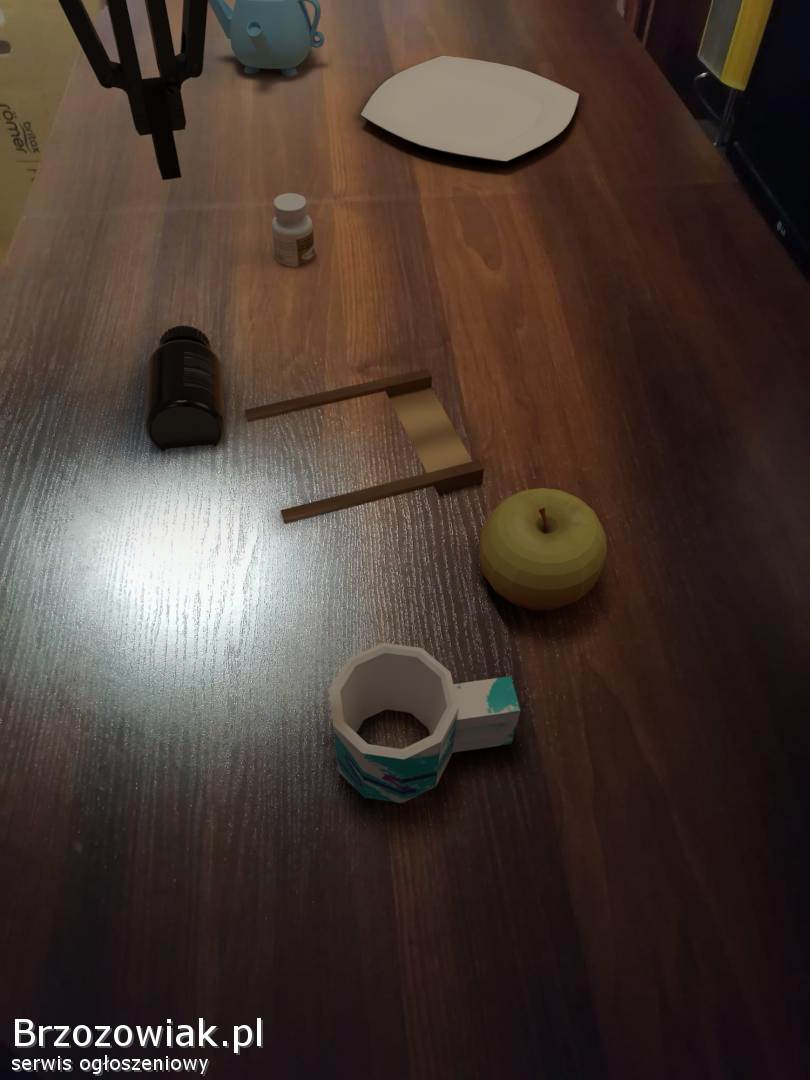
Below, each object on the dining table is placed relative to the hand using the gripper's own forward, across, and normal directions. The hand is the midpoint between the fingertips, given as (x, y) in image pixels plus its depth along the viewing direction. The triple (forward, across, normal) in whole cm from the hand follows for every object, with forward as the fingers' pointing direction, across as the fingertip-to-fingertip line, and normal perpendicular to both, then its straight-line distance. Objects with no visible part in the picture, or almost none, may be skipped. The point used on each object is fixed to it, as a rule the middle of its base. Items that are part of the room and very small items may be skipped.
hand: (169, 170), depth 69 cm
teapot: (+21, +22, +66) cm, 73 cm away
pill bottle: (+21, +13, +15) cm, 29 cm away
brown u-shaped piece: (+21, +11, -15) cm, 28 cm away
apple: (+21, +20, -33) cm, 44 cm away
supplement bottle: (+18, -4, -12) cm, 21 cm away
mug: (+21, +7, -44) cm, 49 cm away
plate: (+21, +44, +42) cm, 64 cm away
